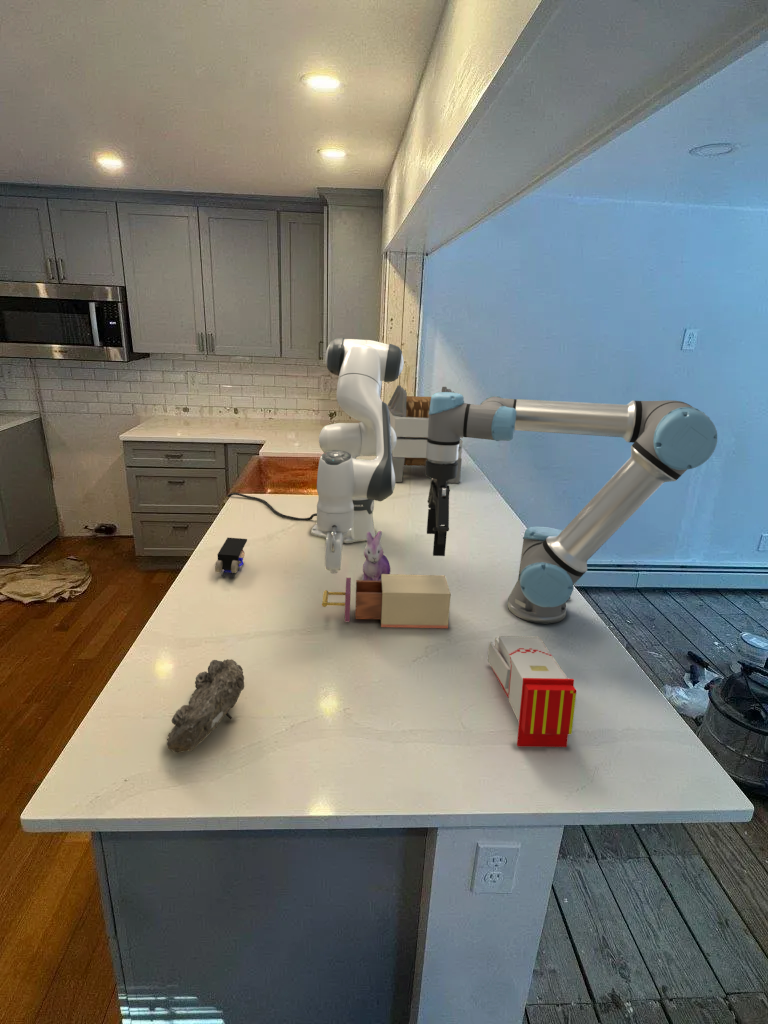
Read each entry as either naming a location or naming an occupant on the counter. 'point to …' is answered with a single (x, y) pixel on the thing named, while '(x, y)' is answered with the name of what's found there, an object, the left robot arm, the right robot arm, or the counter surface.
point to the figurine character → (230, 556)
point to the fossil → (206, 705)
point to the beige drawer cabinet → (415, 601)
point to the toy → (534, 690)
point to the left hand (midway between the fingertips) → (334, 571)
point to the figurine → (374, 559)
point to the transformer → (412, 431)
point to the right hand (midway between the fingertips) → (435, 544)
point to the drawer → (360, 599)
